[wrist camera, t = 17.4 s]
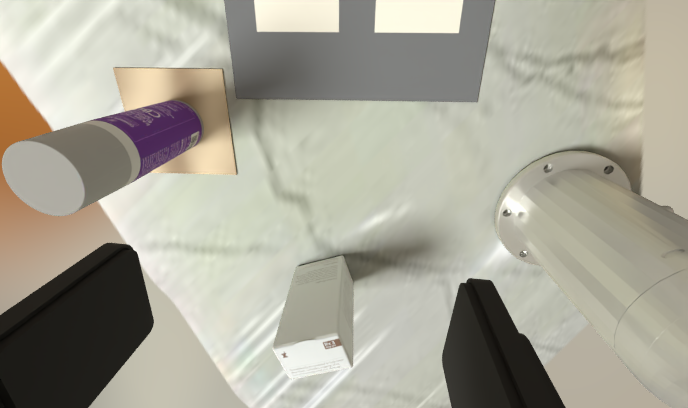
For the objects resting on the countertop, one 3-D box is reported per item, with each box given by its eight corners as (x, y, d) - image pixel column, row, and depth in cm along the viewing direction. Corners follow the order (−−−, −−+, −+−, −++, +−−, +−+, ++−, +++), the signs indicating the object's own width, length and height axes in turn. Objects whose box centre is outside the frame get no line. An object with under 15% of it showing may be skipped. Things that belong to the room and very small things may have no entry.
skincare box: (308, 292, 40) (288, 385, 29) (294, 263, 38) (267, 349, 27) (356, 281, 39) (355, 372, 28) (344, 250, 37) (337, 335, 26)
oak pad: (222, 69, 29) (221, 69, 29) (236, 174, 34) (236, 174, 33) (113, 67, 30) (112, 67, 30) (141, 172, 34) (141, 172, 34)
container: (193, 95, 30) (58, 131, 17) (211, 144, 32) (102, 212, 19) (147, 104, 31) (-20, 146, 17) (167, 152, 33) (31, 223, 19)
